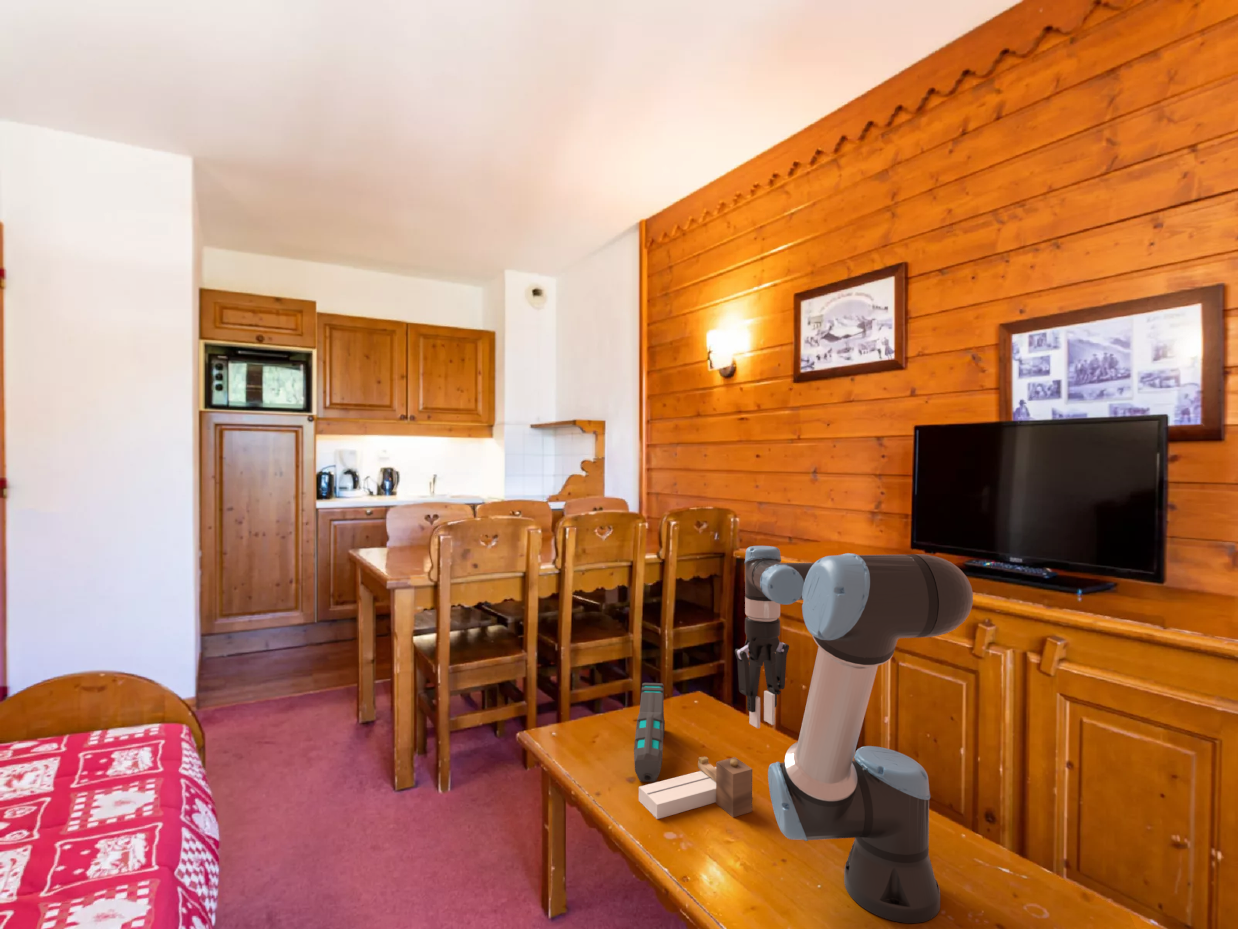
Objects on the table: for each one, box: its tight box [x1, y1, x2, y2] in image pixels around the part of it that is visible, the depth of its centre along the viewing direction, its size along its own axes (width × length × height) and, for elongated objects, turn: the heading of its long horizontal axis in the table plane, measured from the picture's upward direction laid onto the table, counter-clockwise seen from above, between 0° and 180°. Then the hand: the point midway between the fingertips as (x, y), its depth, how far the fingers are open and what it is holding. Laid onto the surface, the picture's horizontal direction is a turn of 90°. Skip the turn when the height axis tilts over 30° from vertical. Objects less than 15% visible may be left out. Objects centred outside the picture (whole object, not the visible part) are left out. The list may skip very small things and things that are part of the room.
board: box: [638, 766, 716, 820], centre depth 139 cm, size 8×22×3 cm, turn 117°
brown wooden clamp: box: [697, 756, 753, 818], centre depth 139 cm, size 15×5×10 cm, turn 27°
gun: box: [633, 682, 666, 783], centre depth 159 cm, size 7×29×15 cm, turn 174°
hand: (762, 723), depth 138 cm, fingers open, 3 cm apart
